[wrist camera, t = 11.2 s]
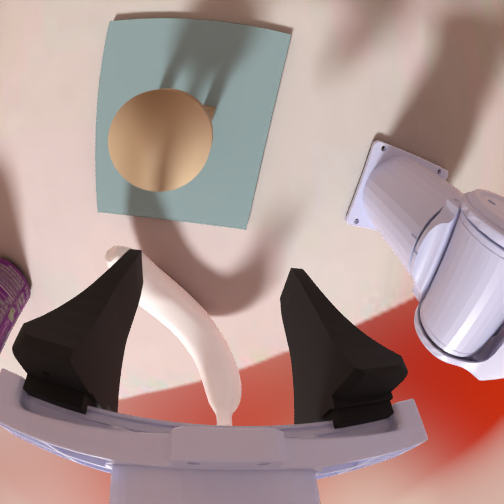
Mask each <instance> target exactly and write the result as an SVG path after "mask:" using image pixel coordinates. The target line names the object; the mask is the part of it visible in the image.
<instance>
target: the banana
mask: <svg viewBox="0 0 504 504" xmlns="http://www.w3.org/2000/svg"><path fill="white" fill-rule="evenodd" d="M129 249H131V248H128V247H124V246H114V247H112V248H110V249H109V250H108V251H107V253H106V255H105V258H106V262H107V266H108V269H109V268H110V267H111V266H112V265H113V264H114V263H115V262H116V261H117V260H118V259H119V258H120V257H122V256H123V255H124V254H125V253H126V252H127V251H128V250H129ZM142 269H143V287H142V292H141V297H140V301H139V304H138V305H139V306H140V307H142V308H143V309H145V310H146V311H148V312H149V313H150V314H152V315H153V316H154V317H155V318H157V319H158V320H159V321H160V322H162V323H163V324H164V325H165V326H166V327H167V328H169V329H170V330H171V331H172V332H173V333H174V334H175V335H176V336H177V337H178V338H179V340H180V341H181V342H182V343H183V345H184V346H185V347H186V349H187V350H188V351H189V353H190V354H191V356H192V358H193V359H194V361H195V363H196V365H197V368H198V370H199V373H200V375H201V378H202V382H203V385H204V389H205V391H206V394H207V398H208V401H209V403H210V405H211V407H212V409H213V410H214V412H215V413H216V416H217V426H232V418H231V417H232V413H233V412H234V411H235V410H236V408H237V407H238V405H239V403H240V398H241V382H240V375H239V371H238V368H237V365H236V362H235V359H234V357H233V355H232V352H231V350H230V348H229V346H228V344H227V342H226V340H225V338H224V337H223V335H222V333H221V332H220V331H219V329H218V328H217V326H216V325H215V323H214V322H213V320H212V319H211V317H210V316H209V315H208V313H207V312H206V311H205V310H204V309H203V308H202V306H201V305H200V304H199V303H198V302H197V301H196V300H195V299H194V298H193V297H192V296H191V295H190V294H188V293H187V292H186V291H185V290H184V289H183V288H182V287H181V286H180V285H178V284H177V283H176V282H175V281H174V280H173V279H172V278H170V277H169V276H168V275H167V274H166V273H164V272H163V271H162V270H161V269H160V268H159V267H157V266H156V265H155V264H154V263H153V262H152V261H151V260H150V259H149V258H148V257H147V256H145V255H144V254H142Z"/></svg>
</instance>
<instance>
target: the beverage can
mask: <svg viewBox="0 0 504 504" xmlns="http://www.w3.org/2000/svg"><path fill="white" fill-rule="evenodd" d="M29 298H30V288H29V285H28V283H27V281H26V279H25V277H24V276H23V274H22V273H21V272H20V270H19V269H18V268H17V267H16V266H14V265H13V264H12V263H10V262H9V261H7V260H5V259H1V258H0V353H1V351H2V349H3V347H4V345H5V343H6V341H7V339H8V336H9V334H10V332H11V330H12V329H13V327H14V325H15V323H16V321H17V319H18V317H19V315H20V314H21V312H22V310H23V308H24V306H25V305H26V303H27V301H28V299H29Z"/></svg>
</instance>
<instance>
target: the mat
mask: <svg viewBox="0 0 504 504" xmlns="http://www.w3.org/2000/svg"><path fill="white" fill-rule="evenodd" d="M290 38H291V34H287V33H283V32H279V31H274V30H270V29H265V28H260V27H255V26H249V25H243V24H236V23H229V22H221V21H211V20H199V19H180V18H148V19H129V20H117V21H110V22H109V27H108V31H107V36H106V41H105V47H104V53H103V59H102V66H101V73H100V81H99V91H98V102H97V116H96V146H95V161H96V192H97V207H98V212H103V213H112V214H122V215H131V216H140V217H149V218H158V219H166V220H175V221H183V222H191V223H199V224H207V225H215V226H223V227H230V228H238V229H245V230H246V228H247V223H248V219H249V214H250V210H251V205H252V201H253V196H254V192H255V187H256V183H257V179H258V174H259V170H260V165H261V161H262V157H263V152H264V148H265V143H266V139H267V135H268V130H269V126H270V122H271V118H272V113H273V109H274V105H275V101H276V96H277V92H278V88H279V84H280V79H281V75H282V71H283V67H284V63H285V59H286V54H287V50H288V46H289V42H290ZM165 88H170V89H177V90H181V91H184V92H187V93H189V94H191V95H192V96H194V97H195V98H196V99H198V100H199V101H200V102H201V103H202V104H203V105H207V106H212V107H216V110H215V113H214V117H213V120H212V126H213V141H212V146H211V149H210V153H209V156H208V159H207V161H206V163H205V165H204V167H203V168H202V170H201V171H200V172H199V174H198V175H197V176H196V177H195V178H194V179H193V180H191V181H190V182H189V183H187V184H185V185H184V186H182V187H180V188H177V189H174V190H170V191H164V192H154V191H148V190H144V189H141V188H138V187H136V186H134V185H132V184H131V183H129V182H128V181H127V180H125V179H124V178H123V177H122V176H121V175H120V173H119V172H118V171H117V169H116V168H115V166H114V164H113V162H112V160H111V157H110V154H109V149H108V134H109V129H110V126H111V123H112V121H113V119H114V117H115V115H116V113H117V112H118V111H119V109H120V108H121V107H122V106H123V105H124V104H125V103H126V102H127V101H129V100H130V99H131V98H133V97H135V96H137V95H139V94H141V93H144V92H147V91H151V90H157V89H165Z"/></svg>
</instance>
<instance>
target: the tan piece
mask: <svg viewBox="0 0 504 504" xmlns="http://www.w3.org/2000/svg"><path fill="white" fill-rule="evenodd" d="M215 110H216V107H212V106H207V105H203V104H202V103H201V102H200V101H199V100H198V99H196V98H195V97H194V96H192V95H191V94H189V93H187V92H184V91H181V90H177V89H170V88H165V89H157V90H151V91H147V92H144V93H141V94H139V95H137V96H135V97H133V98H131V99H130V100H129V101H127V102H126V103H125V104H124V105H123V106H122V107H121V108H120V109H119V111H118V112H117V113H116V115H115V117H114V119H113V121H112V123H111V126H110V129H109V134H108V149H109V154H110V157H111V160H112V162H113V164H114V166H115V168H116V169H117V171H118V172H119V173H120V175H121V176H122V177H123V178H124V179H125V180H127V181H128V182H129V183H131V184H132V185H134V186H136V187H138V188H141V189H144V190H148V191H154V192H164V191H170V190H174V189H177V188H180V187H182V186H184V185H185V184H187V183H189V182H190V181H191V180H193V179H194V178H195V177H196V176H197V175H198V174H199V172H200V171H201V170H202V168H203V167H204V165H205V163H206V161H207V159H208V156H209V153H210V149H211V146H212V141H213V126H212V120H213V117H214V113H215Z"/></svg>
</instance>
